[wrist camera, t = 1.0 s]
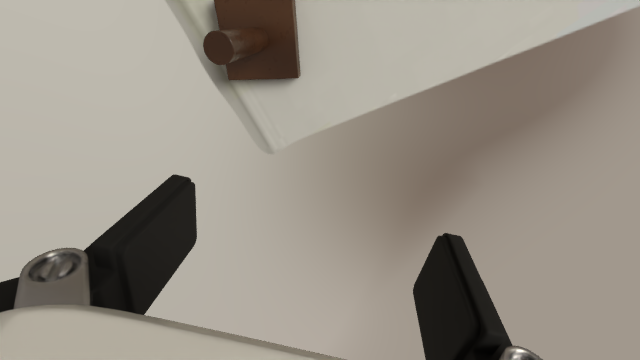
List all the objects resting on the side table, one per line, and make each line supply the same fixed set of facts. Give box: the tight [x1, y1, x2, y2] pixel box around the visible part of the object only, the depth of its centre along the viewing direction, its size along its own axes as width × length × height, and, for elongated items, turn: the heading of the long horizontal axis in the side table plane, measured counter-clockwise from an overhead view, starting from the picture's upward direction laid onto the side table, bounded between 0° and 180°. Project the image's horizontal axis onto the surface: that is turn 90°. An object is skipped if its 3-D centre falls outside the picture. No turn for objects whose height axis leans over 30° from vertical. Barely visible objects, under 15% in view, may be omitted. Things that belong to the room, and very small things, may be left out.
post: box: [203, 0, 300, 80], centre depth 28 cm, size 8×8×12 cm
